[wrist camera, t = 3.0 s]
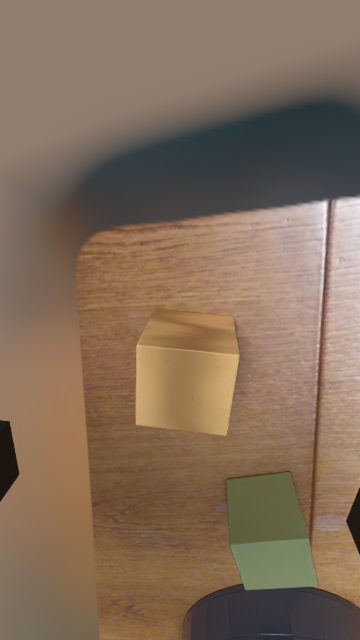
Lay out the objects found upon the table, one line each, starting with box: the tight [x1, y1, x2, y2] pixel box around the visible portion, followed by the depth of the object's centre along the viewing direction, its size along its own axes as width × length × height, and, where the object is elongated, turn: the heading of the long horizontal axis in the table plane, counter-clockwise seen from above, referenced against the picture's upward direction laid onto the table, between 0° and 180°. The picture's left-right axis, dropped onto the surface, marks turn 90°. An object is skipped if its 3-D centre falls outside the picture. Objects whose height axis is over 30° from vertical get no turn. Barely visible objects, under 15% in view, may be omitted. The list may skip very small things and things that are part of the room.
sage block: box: [226, 472, 318, 590], centre depth 23 cm, size 5×5×5 cm
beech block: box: [136, 309, 240, 436], centre depth 18 cm, size 5×5×5 cm
